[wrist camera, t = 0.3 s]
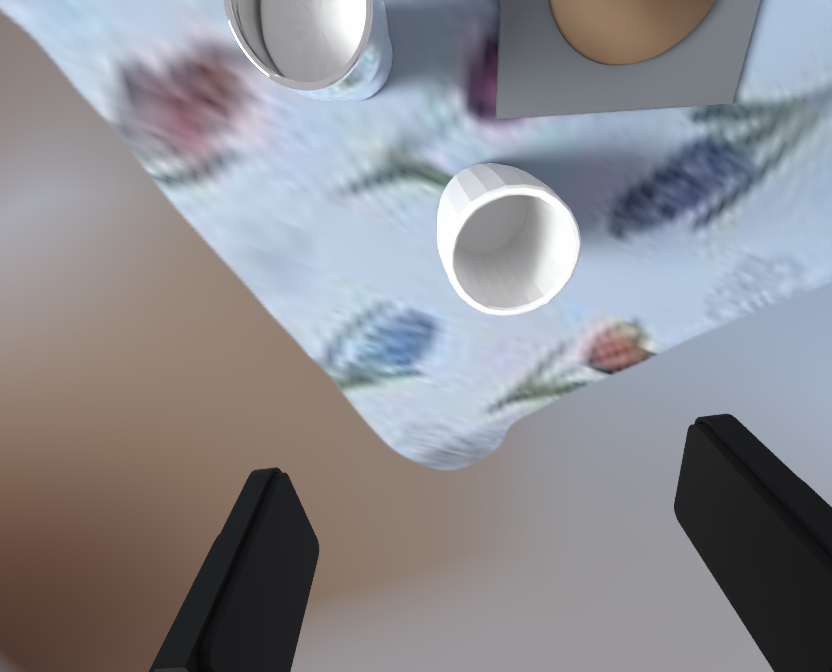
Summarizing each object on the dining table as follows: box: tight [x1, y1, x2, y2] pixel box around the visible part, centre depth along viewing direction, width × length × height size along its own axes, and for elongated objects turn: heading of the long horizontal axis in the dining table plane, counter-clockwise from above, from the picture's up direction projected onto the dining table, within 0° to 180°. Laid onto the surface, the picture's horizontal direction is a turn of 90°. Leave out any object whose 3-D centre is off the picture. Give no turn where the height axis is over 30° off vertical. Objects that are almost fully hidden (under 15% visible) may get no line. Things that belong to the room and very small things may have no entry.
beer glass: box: [223, 0, 392, 101], centre depth 24 cm, size 7×7×15 cm
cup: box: [437, 163, 582, 316], centre depth 29 cm, size 8×8×14 cm
